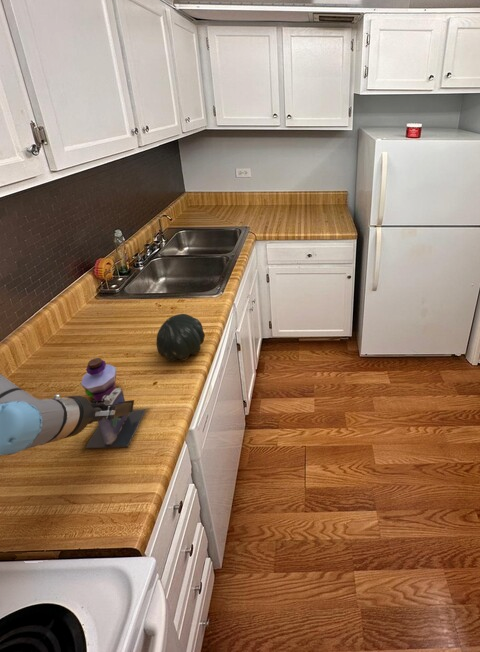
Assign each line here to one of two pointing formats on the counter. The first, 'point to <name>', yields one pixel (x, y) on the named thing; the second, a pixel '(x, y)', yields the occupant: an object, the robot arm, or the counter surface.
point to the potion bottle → (99, 379)
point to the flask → (115, 425)
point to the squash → (180, 337)
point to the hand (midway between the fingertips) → (121, 406)
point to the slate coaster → (122, 437)
